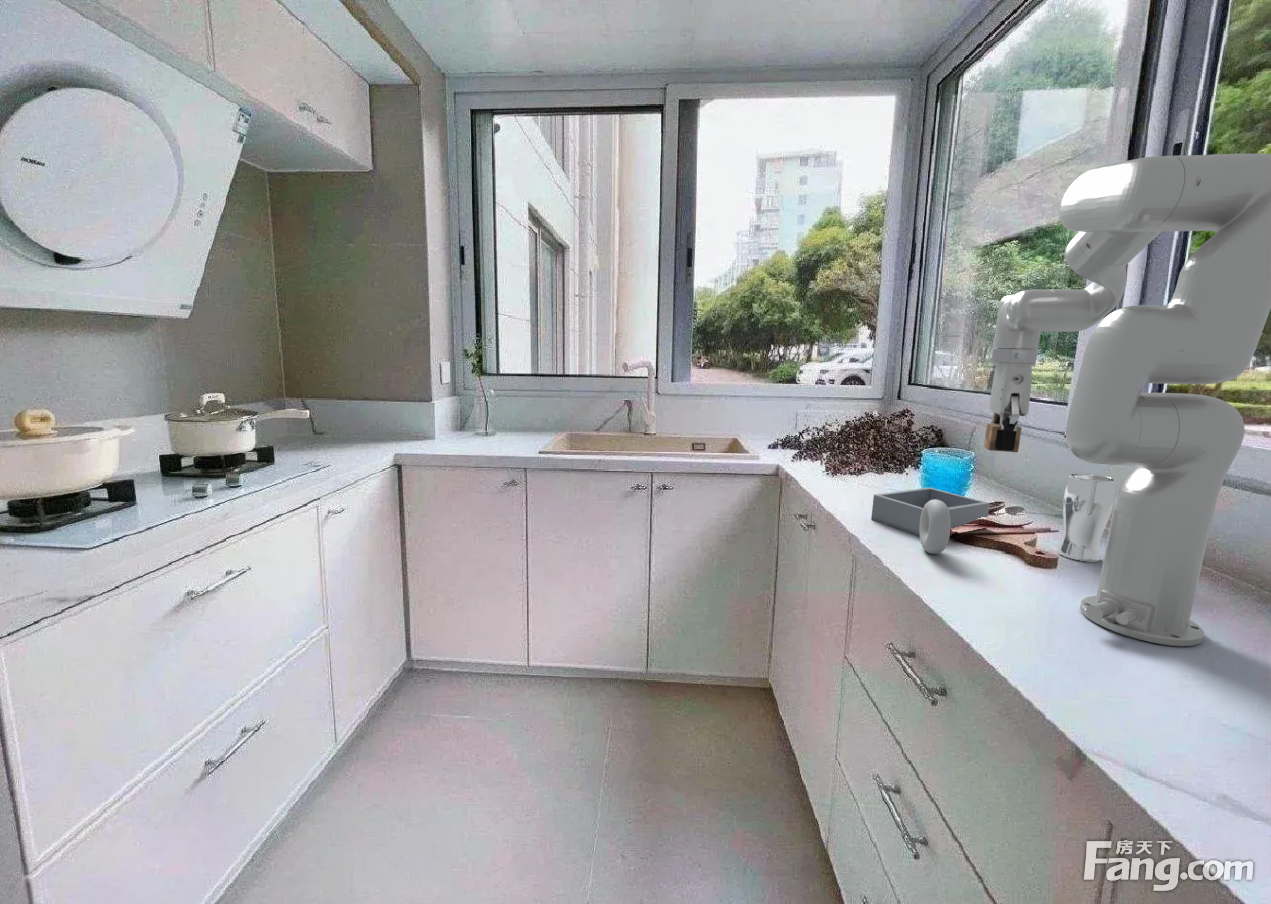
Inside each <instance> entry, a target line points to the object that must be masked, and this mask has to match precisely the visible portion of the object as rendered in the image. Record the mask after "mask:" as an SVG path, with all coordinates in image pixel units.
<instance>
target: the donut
mask: <svg viewBox="0 0 1271 904" xmlns="http://www.w3.org/2000/svg"><path fill="white" fill-rule="evenodd" d="M950 528H951V520H950V513H949V510H948V507H947V506H946V504H945V503H944V502H942V501H940V500H936V499H934V500H930V501H929V502H927V503H926V504H925V506H924V508H923V510H922V513H921V518H920V529H919V533H920V536H919V541H920V544H921V546H922V549H923V550H924V551H926V552H927V553H928V554H931V555H938V554H940V553H942V552H944V550H945V549H946V547H947V546H948V543H949V541H950V537H951V535H950Z"/></svg>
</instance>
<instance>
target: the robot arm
mask: <svg viewBox="0 0 1271 904" xmlns="http://www.w3.org/2000/svg"><path fill="white" fill-rule="evenodd" d="M1058 213H1059V214H1058V215H1059V220H1060V223H1061V224H1062V226H1063V227H1064V228H1065V229H1066V230H1069V231H1071V232H1077V234H1075V235H1074V237H1073V238H1072V239H1071V240H1070V241H1069V242H1068V244H1067V246H1066V248H1065V252H1064V256H1065V261H1066V263H1067V265H1068V267H1069V268H1070V269H1071V270H1072V271H1073V272H1074V273H1075V274H1076V275H1078V276H1080V277H1081V278H1084V279H1086V280H1088V281H1090V284H1088V286H1087V287H1085V288H1083V289H1075V288H1074V289H1070V288H1069V289H1067V288H1065V289H1064V288H1063V289H1060V288H1059V289H1056V288H1055V289H1054V288H1053V289H1052V288H1051V289H1045V288H1044V289H1024V290H1021V291H1018V292H1017V293H1015V294H1010V295H1004V296H1003V297H1002V298H1001V299H1000V300H999V303H998V310H997V315H996V323H995V324H996V325H995V331H994V337H993V345H992V353H991V359H990V360H991V361H990V365H991V366H995V369H994V374H993V379H992V385H991V391H990V400H989V410H990V412H992V418H991V421H990V423H993V424H1000V430H997V436H996V443H995V449H997V450H1009V451H1013V450H1014V446H1015V439H1016V432H1017V426H1018V423H1019V421H1018V420H1019V418H1020V417H1026V416H1028V414H1029V411H1030V409H1029V408H1030V399H1031V390H1032V379H1033V378H1032V377H1033V376H1032V375H1033V371H1032V370H1033V369H1032V368H1033V367H1036V366H1037V365H1036V364H1037V359H1038V352H1039V345H1040V339H1041V332H1042V333H1043V332H1057V333H1058V332H1062V333H1064V332H1065V333H1075V332H1082V331H1085V330H1088V329H1090V328H1091V327H1093V326H1095V325H1096V324H1097V325H1096V327H1095V329H1094V330H1093V332H1092V333H1091V335H1090V336H1089V339H1088V341H1087V344H1086V347H1085V351H1084V354H1083V357H1082V361H1081V365H1080V370H1079V373H1078V377H1077V381H1076V385H1075V389H1074V392H1073V396H1072V399H1071V404H1070V408H1069V411H1068V415H1067V421H1066V429H1065V431H1066V432H1065V436H1066V437H1065V439H1066V442H1067V446H1068V448H1069V450H1070V451H1071V453H1072V454H1073V455H1074V456H1075V457H1076V458H1077V459H1079V460H1082V461H1083V462H1087V463H1089V464H1090V463H1091V464H1098V465H1107V466H1127V467H1128V466H1130V467H1135V468H1134V469H1133V470H1132V471H1131V472H1130V473H1129V474H1128V475H1127V477H1125V479H1124V480H1123V482H1122V483H1121V484H1120V486H1119V487H1118V489H1117V492H1116V493H1115V497H1114V504H1113V508H1112V512H1111V518H1110V524H1109V528H1108V534H1107V540H1106V543H1105V544H1106V545H1105V549H1104V556H1103V561H1102V565H1101V572H1100V576H1099V582H1098V586H1097V591H1096V592H1097V593H1096V595H1093V596H1091V595H1090V596H1088V597H1084V598H1083V599H1082V600H1081V601H1080V605H1079V610H1080V611H1081V613H1082V614H1083V616H1085V617H1086V618H1088V619H1089V620H1090V621H1091V622H1093V623H1095V624H1097V625H1099V626H1101V627H1103V628H1105V629H1108V630H1110V631H1112V632H1115V633H1118V634H1121V635H1123V636H1125V637H1129V638H1133V639H1136V640H1141V641H1144V642H1148V643H1154V644H1157V645H1165V646H1170V647H1171V646H1173V647H1174V646H1175V647H1191V646H1197V645H1199V644H1201V643H1203V640H1204V635H1205V631H1204V630H1203V628H1202V627H1201V626H1199V624H1198V623H1196V622H1195V621H1194V620H1191V615H1192V611H1193V610H1192V609H1193V607H1194V601H1195V597H1196V592H1197V589H1198V583H1199V578H1200V574H1201V570H1202V567H1203V561H1204V558H1205V553H1206V547H1207V543H1208V540H1209V536H1210V532H1211V531H1210V530H1211V525H1212V524H1213V518H1214V516H1215V515H1214V514H1215V510H1216V506H1217V502H1218V499H1219V495H1220V491H1221V488H1222V486H1223V483H1224V481H1225V478H1226V476H1227V474H1228V472H1229V469H1230V467H1231V465H1232V464H1233V462H1234V460H1235V459H1236V456H1237V455H1238V452H1239V451H1240V449H1241V446H1242V444H1243V440H1244V438H1245V431H1246V429H1245V422H1244V420H1243V417H1242V415H1241V413H1240V411H1239V410H1238V409H1237V408H1236V407H1234V406H1233V405H1232V404H1230V403H1229V402H1227V401H1226V400H1223V399H1220V398H1217V397H1214V396H1209V395H1204V394H1198V393H1196V394H1195V393H1182V392H1181V393H1180V392H1179V393H1176V392H1175V393H1174V392H1142V391H1143V388H1144V387H1145V385H1146V384H1162V385H1163V384H1164V385H1165V384H1166V385H1211V384H1212V385H1213V384H1214V385H1215V384H1220V383H1226V382H1230V381H1232V380H1234V379H1235V378H1237V377H1239V376H1240V375H1242V373H1244V372H1245V370H1246V369H1247V368H1248V366H1249V365H1250V364H1251V363H1250V362H1251V361H1252V359H1253V357H1254V354H1255V352H1256V350H1257V347H1258V345H1259V341H1260V340H1261V336H1262V333H1263V330H1264V327H1265V325H1266V322H1267V319H1268V316H1269V314H1270V311H1271V153H1222V154H1221V153H1217V154H1194V155H1193V154H1191V155H1187V154H1186V155H1162V156H1161V155H1160V156H1158V155H1155V156H1146V157H1139V158H1135V159H1130V160H1124V161H1120V162H1116V163H1111V164H1106V165H1105V164H1104V165H1100V166H1095V167H1093V168H1090V169H1088V170H1087V171H1085V172H1083V173H1082V174H1081V175H1079V176H1078V177H1077V178H1076V179H1075V180H1074V181H1073V182H1072V183H1071V185H1069V187H1068V188H1067V190H1066V192H1065V193H1064V195H1063V198H1062V199H1061V202H1060V205H1059V212H1058ZM1193 231H1194V232H1201V231H1203V232H1204V231H1205V232H1206V231H1207V232H1216V233H1215V234H1213V235H1212V236H1211V237H1210V238H1209V239H1207V240H1206V241H1205V242H1204V243H1202V244H1201V246H1199V247H1198V248H1197V250H1195V251H1194V252H1193V254H1192V255H1190V257H1189V258H1188V259H1187V260H1186V262H1185V263H1184V265H1183V266H1182V268H1181V270H1180V271H1179V275H1178V278H1177V283H1176V286H1175V289H1174V291H1173V295H1172V297H1171V300H1170V301H1169V303H1168V304H1167V305H1166V304H1138V305H1137V304H1136V305H1128V306H1125V307H1121V308H1118V309H1115V308H1116V307H1117V305H1118V304H1119V303H1120V301H1121V299H1122V297H1123V295H1124V292H1125V290H1126V286H1127V282H1128V278H1127V277H1128V275H1127V274H1128V273H1127V269H1126V266H1127V265H1128V264H1129V263H1130V262H1131V261H1132V260H1133V259H1134V258H1136V256H1137V255H1139V254H1140V253H1141V252H1142V251H1143V250H1144V249H1145V248H1146V247H1147V246H1148V245H1149V244H1151V242H1152V241H1153V240H1155V238H1157V237H1158V236H1159V235H1160V234H1161V233H1162V232H1193ZM1114 309H1115V310H1114ZM1113 310H1114V311H1113Z"/></svg>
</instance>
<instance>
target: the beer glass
mask: <svg viewBox="0 0 1271 904" xmlns="http://www.w3.org/2000/svg"><path fill="white" fill-rule="evenodd" d="M1116 483H1117V480H1116V478H1113V477H1110V476H1105V475H1100V474H1094V473H1087V472H1085V473H1083V472H1072V473H1069V475H1068V479H1067V483H1066V486H1065V490H1064V493H1063V502H1062V518H1063V535H1062V538H1061V541H1060V544H1059V545H1058V549H1057V554H1058V555H1060V554H1061V555H1063V556H1066V557H1068V558H1067V559H1069V558H1071V559H1070V560H1072V559H1075V560H1074V561H1076V560H1080V561H1079V562H1082V561H1086V562H1085V563H1098V562H1099V561H1100V558H1101V555H1100V545H1101V544H1100V542H1101V538H1102V536H1103V533H1104V530H1105V529H1106V527H1107V524H1108V521H1109V519H1110V516H1111V515H1112V512H1113V507H1114V502H1115V498H1116V485H1117V484H1116ZM1061 555H1060V556H1061ZM1063 556H1062V557H1063ZM1066 557H1065V558H1066Z"/></svg>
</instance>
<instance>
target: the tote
mask: <svg viewBox="0 0 1271 904" xmlns="http://www.w3.org/2000/svg"><path fill="white" fill-rule="evenodd" d="M934 499H936V500H940V501H942V502H944V503H945V504H946V506H947V507H948V510H949V513H950V520H951V528H955V527H958V526H961V525H964V524H967V523H969V522H971V521H974V520H976V519H978V518H981V517H988V516H989V513H990V505H991V503H990V502H989V501H984V500H980V499H975V498H973V497H972V498H971V497H968V496H965V495H960V494H956V493H952V492H950V491H949V492H948V491H945V490H940V489H936V488H933V487H929V486H928V487H924V488H915V489H908V490H900V491H899V490H898V491H894V492H893V491H891V492H885V493H876V494H873V499H872V508H871V516H870V517H871V520H873V521H875V522H878V523H880V524H883V525H886V526H889V527H892V528H895V529H898V530H901V531H903V532H906V533H908V534H912V535H915V536H917V537H920V533H919V529H920V518H921V513H922V510H923V508H921V507H924V506H925V504H926V503H927V502H929V501H930V500H934ZM988 518H989V517H988ZM951 528H950V529H951Z"/></svg>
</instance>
